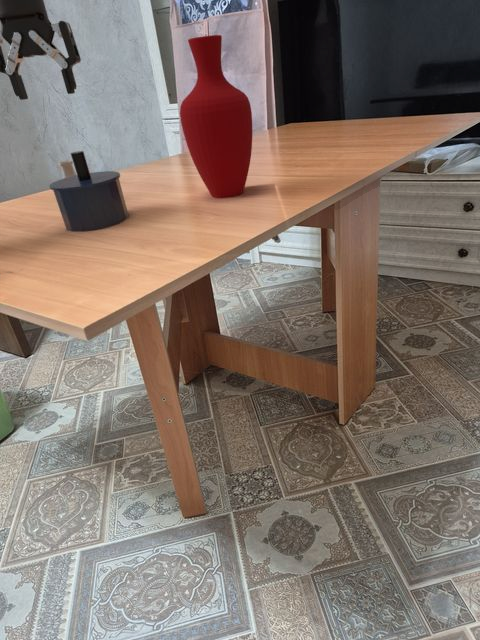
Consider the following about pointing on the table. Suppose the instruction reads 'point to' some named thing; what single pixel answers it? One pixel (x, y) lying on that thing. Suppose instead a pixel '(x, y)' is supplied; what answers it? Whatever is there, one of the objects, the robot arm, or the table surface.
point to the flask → (67, 169)
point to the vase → (217, 123)
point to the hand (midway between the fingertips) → (47, 96)
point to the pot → (92, 207)
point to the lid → (83, 176)
